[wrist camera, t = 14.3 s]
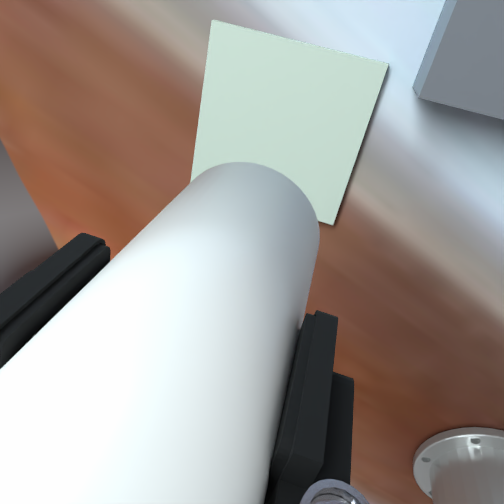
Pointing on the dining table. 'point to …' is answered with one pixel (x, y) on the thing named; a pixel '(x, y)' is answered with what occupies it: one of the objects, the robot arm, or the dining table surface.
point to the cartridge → (168, 356)
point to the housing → (466, 58)
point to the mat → (285, 110)
